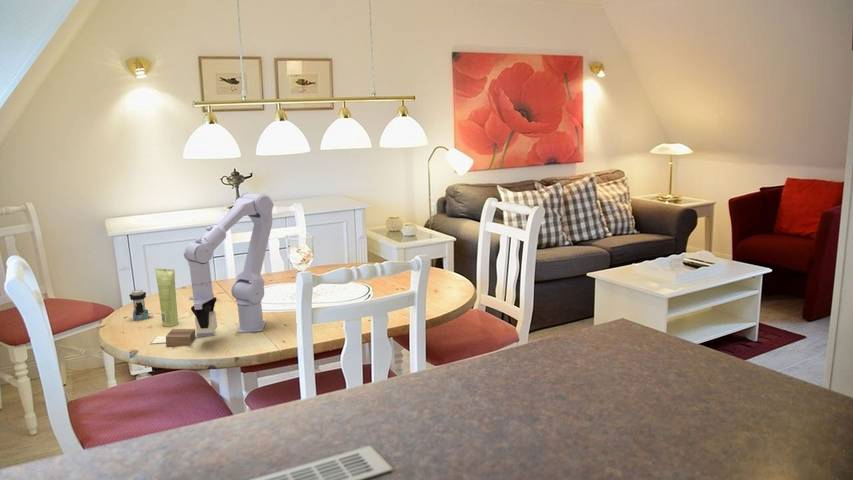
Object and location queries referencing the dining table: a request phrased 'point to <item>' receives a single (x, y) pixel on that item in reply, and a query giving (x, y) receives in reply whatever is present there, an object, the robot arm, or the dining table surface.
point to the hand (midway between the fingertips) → (206, 324)
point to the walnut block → (180, 337)
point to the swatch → (159, 340)
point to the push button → (139, 305)
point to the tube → (167, 296)
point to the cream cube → (211, 326)
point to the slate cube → (204, 334)
